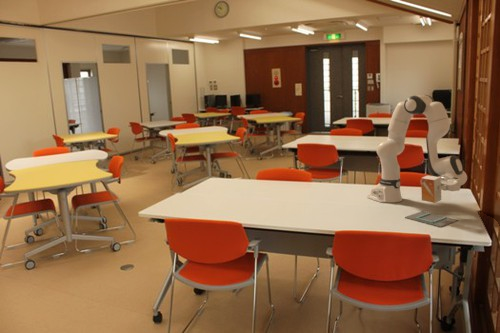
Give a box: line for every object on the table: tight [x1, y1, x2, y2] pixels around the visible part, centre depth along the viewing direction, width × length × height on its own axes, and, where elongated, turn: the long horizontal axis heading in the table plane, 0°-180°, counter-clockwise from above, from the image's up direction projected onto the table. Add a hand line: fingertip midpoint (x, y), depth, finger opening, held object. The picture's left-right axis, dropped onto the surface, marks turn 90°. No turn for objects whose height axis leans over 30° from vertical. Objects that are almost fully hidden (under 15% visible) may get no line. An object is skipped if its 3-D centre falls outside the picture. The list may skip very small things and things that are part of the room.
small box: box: [420, 175, 442, 204], centre depth 242 cm, size 8×6×13 cm
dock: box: [404, 210, 459, 228], centre depth 245 cm, size 22×16×1 cm
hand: (430, 186), depth 242 cm, fingers closed on small box, 8 cm apart
